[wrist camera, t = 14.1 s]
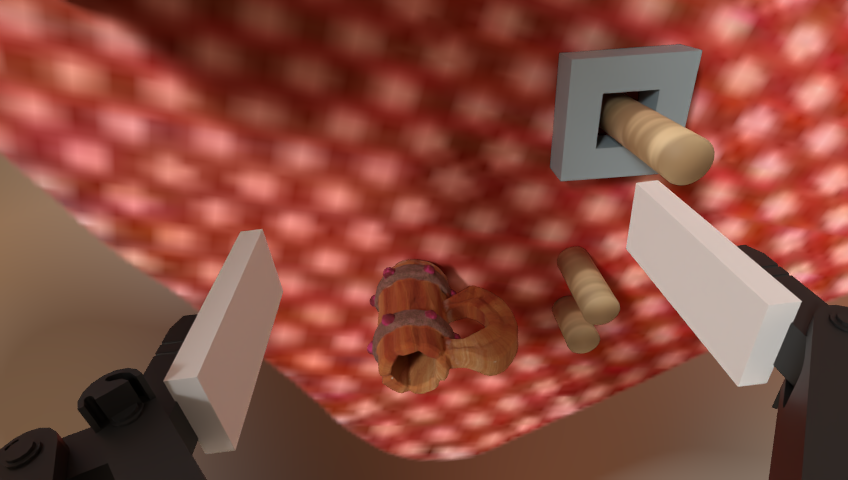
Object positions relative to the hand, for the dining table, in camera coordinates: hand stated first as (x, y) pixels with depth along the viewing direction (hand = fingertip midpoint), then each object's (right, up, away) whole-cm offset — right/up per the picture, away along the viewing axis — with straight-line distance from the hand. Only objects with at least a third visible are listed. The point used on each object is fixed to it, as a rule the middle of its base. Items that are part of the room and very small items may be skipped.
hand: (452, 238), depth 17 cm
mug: (0, -4, +37) cm, 37 cm away
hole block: (+17, +12, +28) cm, 35 cm away
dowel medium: (+16, -2, +37) cm, 40 cm away
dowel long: (+17, +12, +28) cm, 35 cm away
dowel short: (+16, -8, +40) cm, 44 cm away
